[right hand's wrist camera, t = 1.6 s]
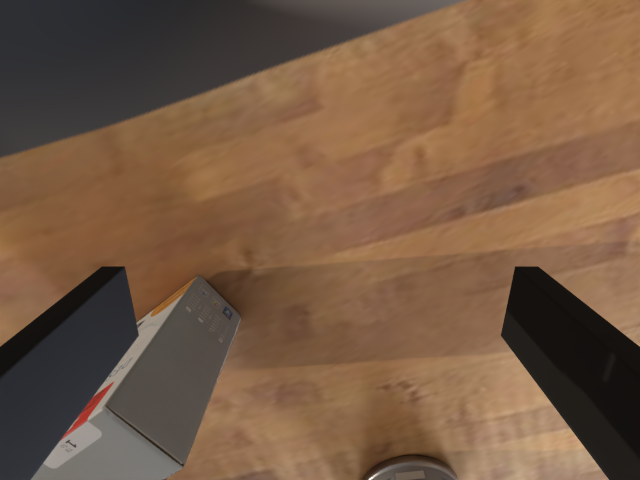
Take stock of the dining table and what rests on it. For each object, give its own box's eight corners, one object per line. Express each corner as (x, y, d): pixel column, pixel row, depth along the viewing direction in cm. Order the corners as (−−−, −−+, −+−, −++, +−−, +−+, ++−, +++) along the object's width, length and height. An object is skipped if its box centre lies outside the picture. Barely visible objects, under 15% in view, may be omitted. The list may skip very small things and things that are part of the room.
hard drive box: (199, 271, 43) (107, 404, 25) (244, 316, 45) (191, 469, 27) (110, 341, 47) (-29, 503, 28) (155, 379, 49) (55, 554, 30)
